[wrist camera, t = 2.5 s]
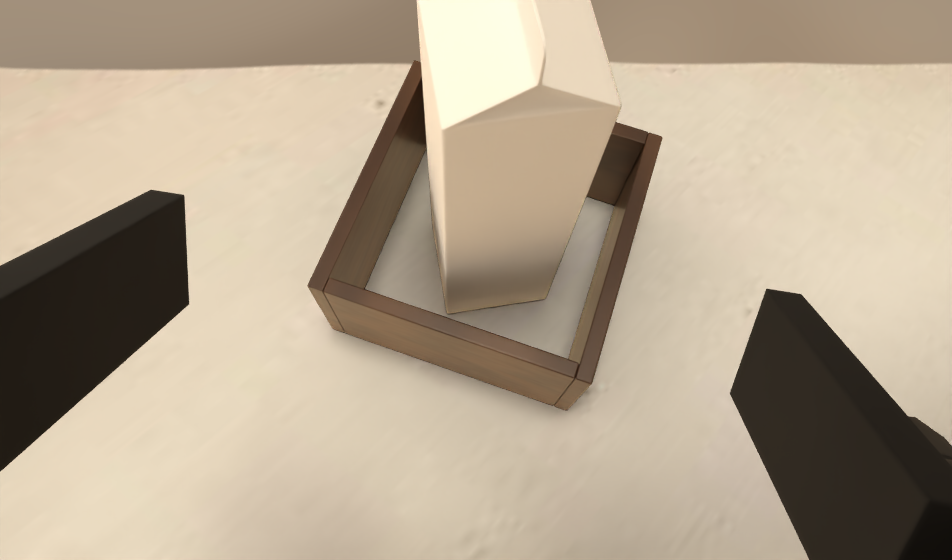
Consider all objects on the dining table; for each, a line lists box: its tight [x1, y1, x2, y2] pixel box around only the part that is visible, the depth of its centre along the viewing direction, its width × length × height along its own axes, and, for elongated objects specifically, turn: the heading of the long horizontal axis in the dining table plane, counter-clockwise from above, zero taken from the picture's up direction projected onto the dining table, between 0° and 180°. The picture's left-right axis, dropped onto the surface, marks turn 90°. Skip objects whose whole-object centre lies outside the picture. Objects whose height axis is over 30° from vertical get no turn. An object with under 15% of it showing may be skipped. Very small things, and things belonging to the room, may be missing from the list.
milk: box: [417, 0, 621, 314], centre depth 29 cm, size 6×6×22 cm
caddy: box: [308, 61, 662, 410], centre depth 36 cm, size 14×14×7 cm
